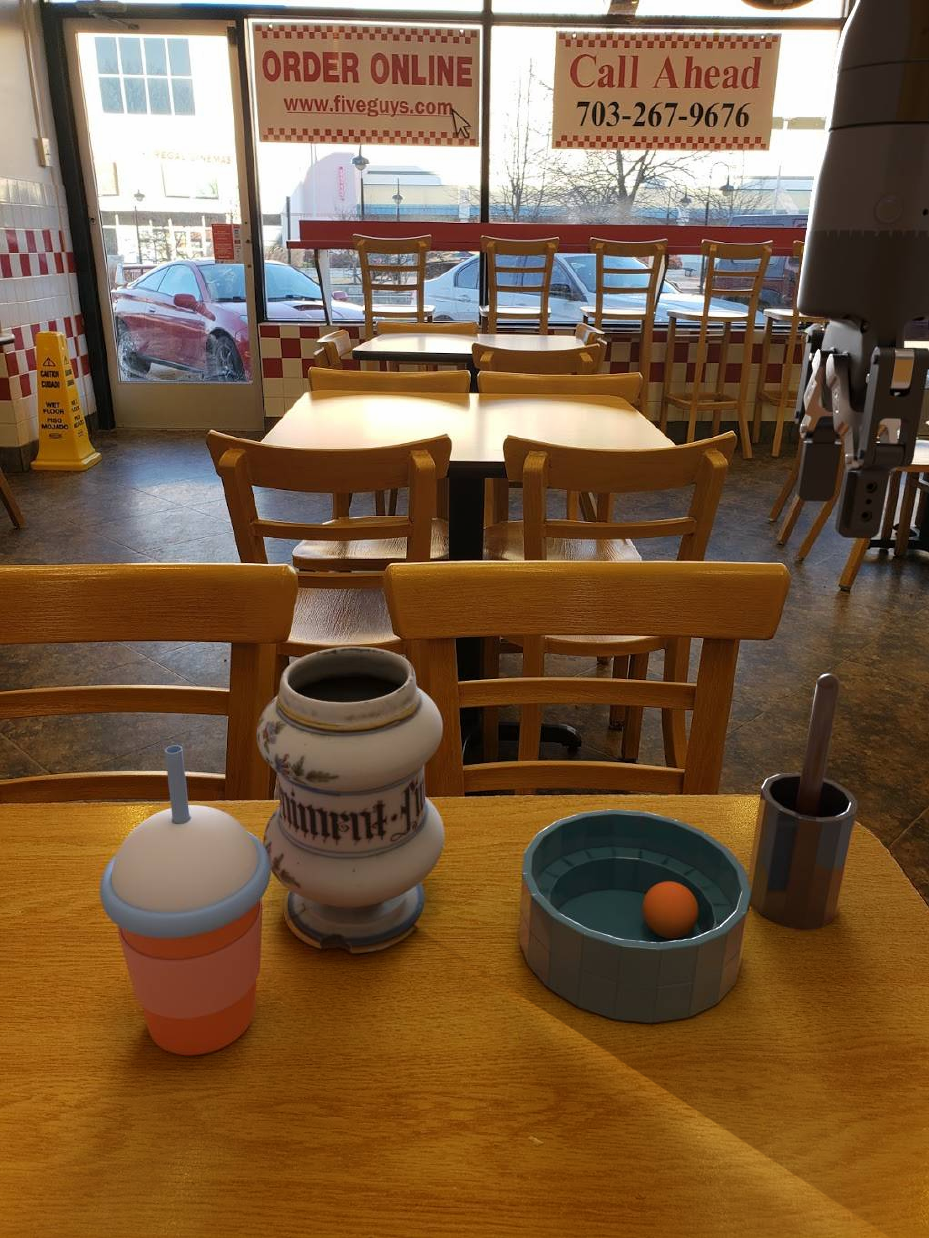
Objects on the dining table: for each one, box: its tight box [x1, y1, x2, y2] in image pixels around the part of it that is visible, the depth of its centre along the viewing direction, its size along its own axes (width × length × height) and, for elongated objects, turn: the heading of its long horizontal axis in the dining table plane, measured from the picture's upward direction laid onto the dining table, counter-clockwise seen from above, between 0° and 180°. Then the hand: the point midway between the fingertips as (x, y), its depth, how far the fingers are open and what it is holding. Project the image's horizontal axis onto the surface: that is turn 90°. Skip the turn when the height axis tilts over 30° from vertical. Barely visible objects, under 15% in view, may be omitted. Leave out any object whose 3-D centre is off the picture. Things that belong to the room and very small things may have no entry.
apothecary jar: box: [256, 646, 445, 955], centre depth 62 cm, size 12×12×18 cm
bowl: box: [518, 808, 751, 1024], centre depth 61 cm, size 14×14×6 cm
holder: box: [747, 772, 859, 931], centre depth 64 cm, size 6×6×9 cm
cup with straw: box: [99, 744, 272, 1056], centre depth 52 cm, size 9×9×18 cm
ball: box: [643, 881, 698, 939], centre depth 62 cm, size 4×4×4 cm
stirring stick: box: [795, 673, 841, 817], centre depth 63 cm, size 1×2×17 cm, turn 47°
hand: (833, 516), depth 57 cm, fingers open, 8 cm apart
